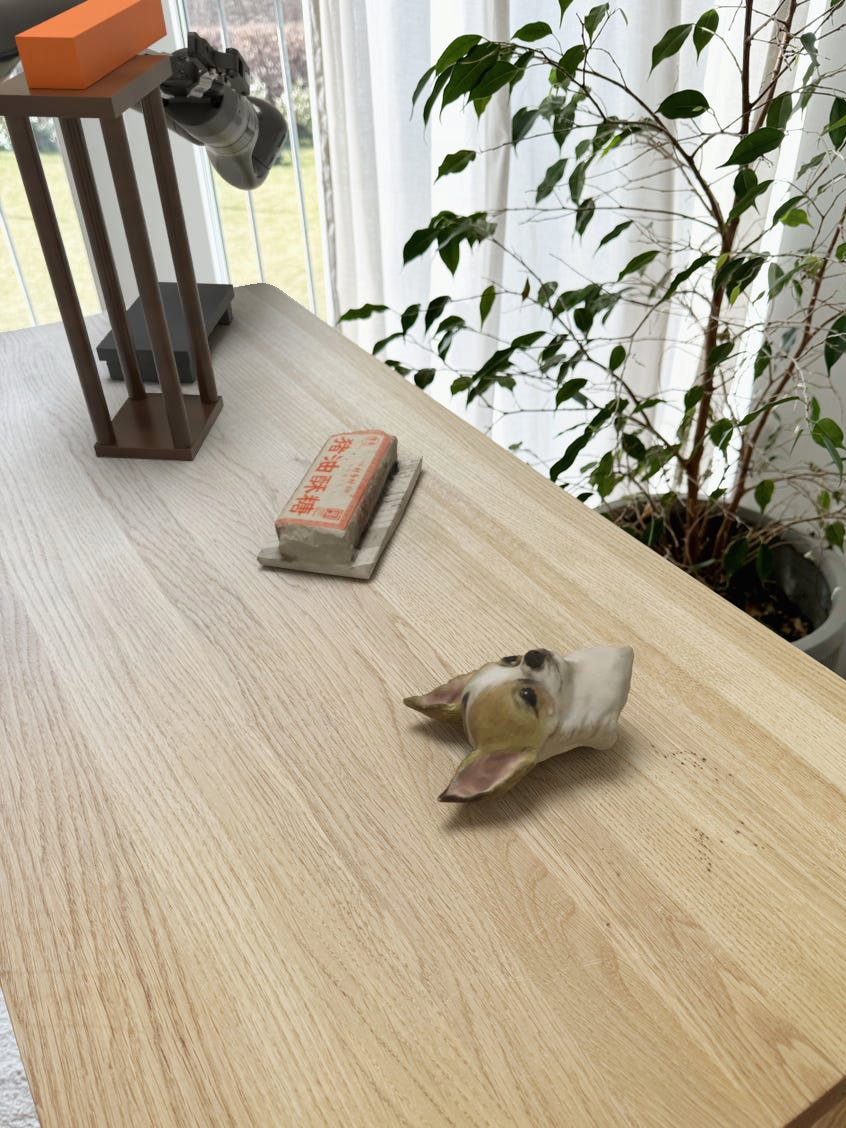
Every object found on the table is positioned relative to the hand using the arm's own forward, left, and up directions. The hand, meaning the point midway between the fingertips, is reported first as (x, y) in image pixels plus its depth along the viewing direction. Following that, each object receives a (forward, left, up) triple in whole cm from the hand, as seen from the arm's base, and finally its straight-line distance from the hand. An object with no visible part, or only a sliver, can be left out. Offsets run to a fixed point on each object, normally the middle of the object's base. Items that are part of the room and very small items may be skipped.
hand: (145, 42), depth 92 cm
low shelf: (-5, +2, -31) cm, 32 cm away
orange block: (+3, -10, +1) cm, 10 cm away
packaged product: (+28, -23, -32) cm, 48 cm away
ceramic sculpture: (+52, -44, -32) cm, 75 cm away
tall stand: (+4, -15, -31) cm, 35 cm away
